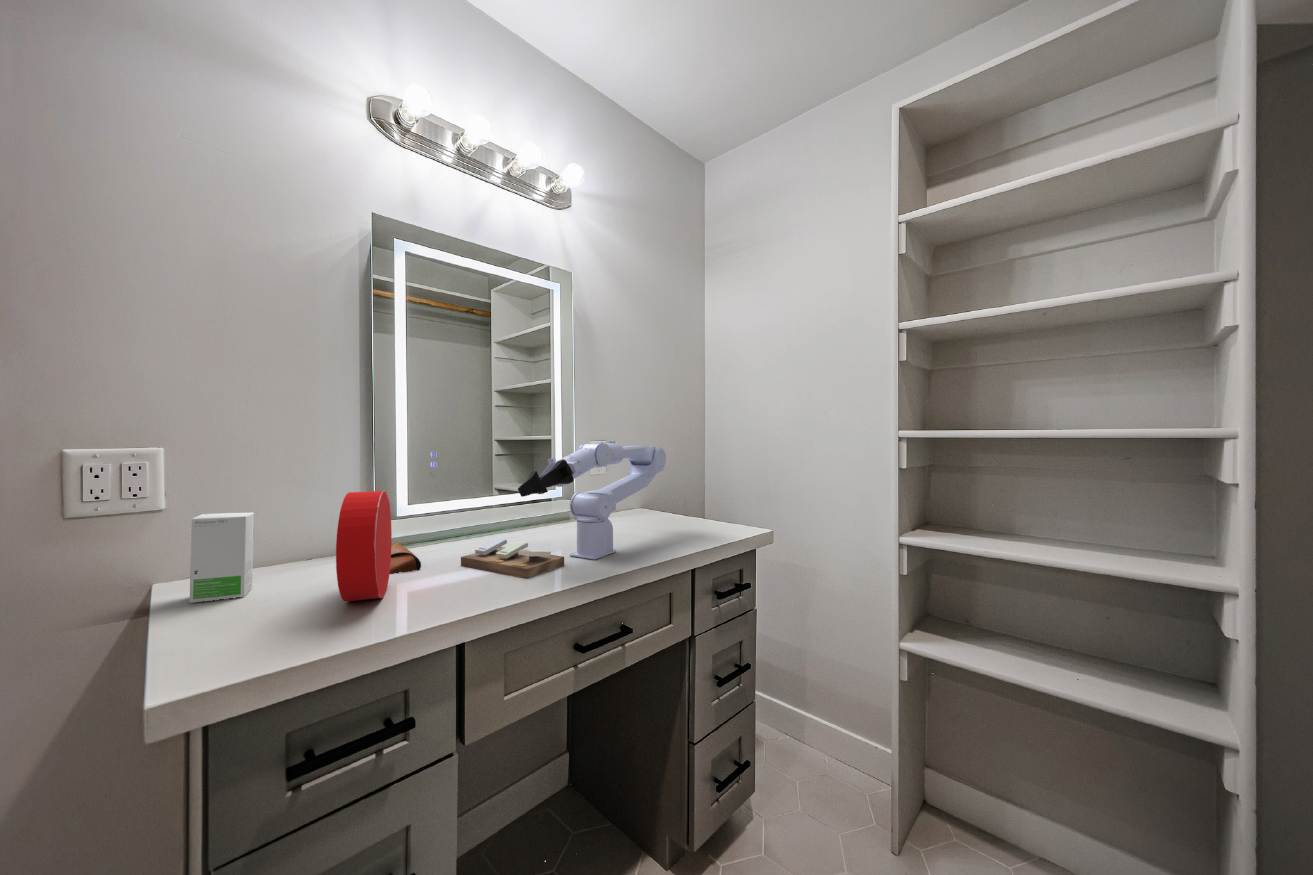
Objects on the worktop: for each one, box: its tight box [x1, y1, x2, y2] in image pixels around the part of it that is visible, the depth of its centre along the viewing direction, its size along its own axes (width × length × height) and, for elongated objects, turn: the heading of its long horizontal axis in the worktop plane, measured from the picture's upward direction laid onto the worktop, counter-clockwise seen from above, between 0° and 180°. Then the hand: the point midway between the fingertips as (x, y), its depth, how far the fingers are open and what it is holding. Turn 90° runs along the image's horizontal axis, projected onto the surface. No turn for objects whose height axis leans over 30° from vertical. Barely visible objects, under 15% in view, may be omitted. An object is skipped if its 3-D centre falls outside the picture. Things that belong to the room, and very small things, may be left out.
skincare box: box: [189, 512, 255, 604], centre depth 96 cm, size 8×7×16 cm
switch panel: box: [460, 546, 565, 579], centre depth 118 cm, size 12×21×3 cm, turn 60°
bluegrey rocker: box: [474, 537, 508, 555], centre depth 121 cm, size 7×3×1 cm, turn 150°
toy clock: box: [335, 490, 392, 603], centre depth 95 cm, size 20×6×20 cm, turn 21°
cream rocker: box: [518, 549, 552, 556], centre depth 114 cm, size 7×3×1 cm, turn 150°
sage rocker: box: [496, 540, 529, 559], centre depth 118 cm, size 7×3×1 cm, turn 150°
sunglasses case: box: [389, 542, 422, 575], centre depth 119 cm, size 18×7×7 cm
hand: (530, 488), depth 110 cm, fingers open, 7 cm apart
